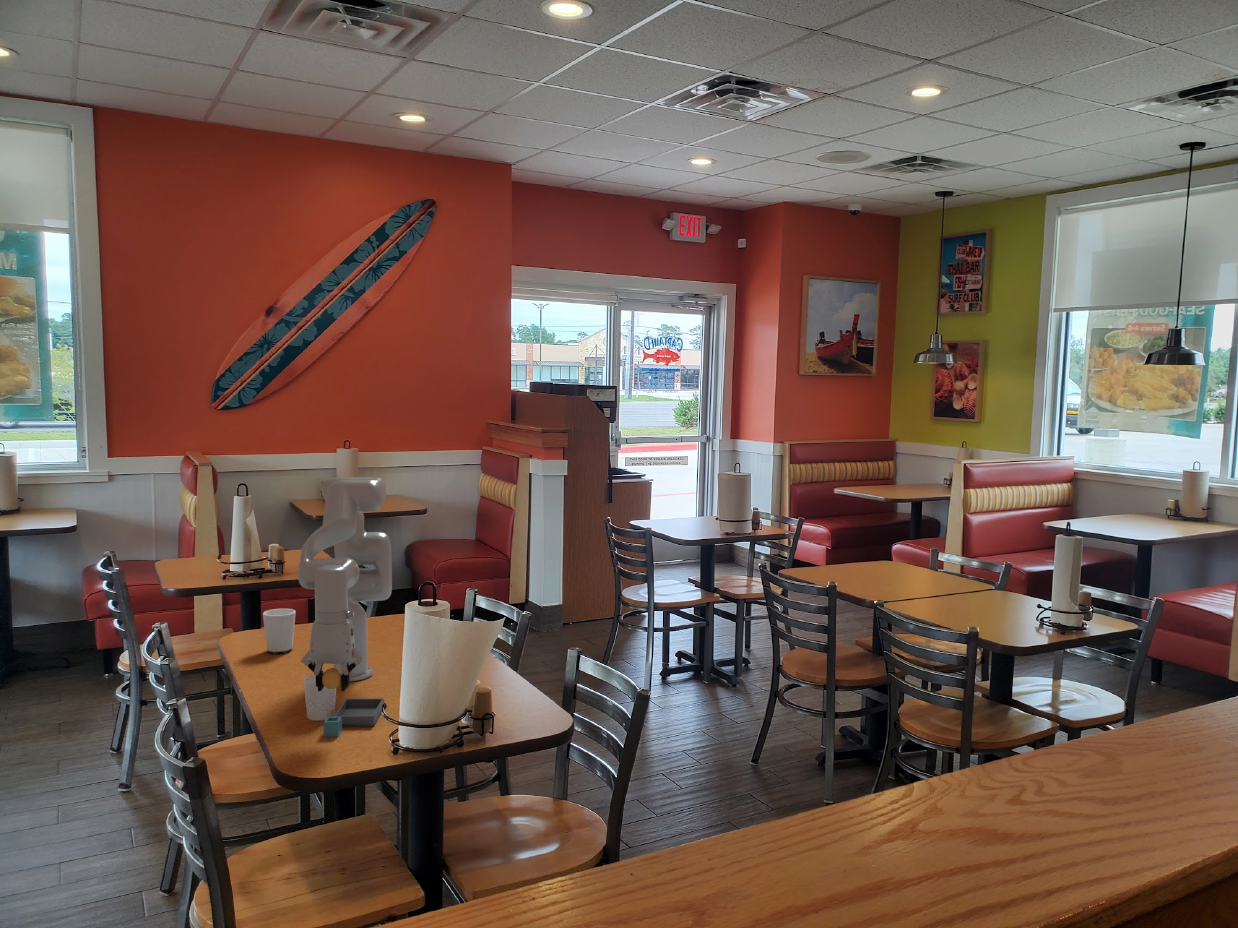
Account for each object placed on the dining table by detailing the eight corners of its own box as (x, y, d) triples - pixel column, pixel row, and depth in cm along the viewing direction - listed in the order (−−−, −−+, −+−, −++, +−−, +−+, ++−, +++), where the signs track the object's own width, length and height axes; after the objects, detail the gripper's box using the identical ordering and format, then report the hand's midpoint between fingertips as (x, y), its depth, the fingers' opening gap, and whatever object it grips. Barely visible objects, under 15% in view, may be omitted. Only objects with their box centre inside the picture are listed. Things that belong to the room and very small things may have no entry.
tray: (345, 708, 232) (345, 698, 232) (384, 707, 233) (384, 698, 233) (333, 726, 219) (333, 716, 219) (374, 726, 220) (374, 716, 220)
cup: (284, 644, 289) (284, 606, 288) (302, 650, 283) (302, 611, 282) (256, 651, 281) (256, 612, 280) (274, 657, 275) (274, 617, 274)
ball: (324, 684, 217) (324, 664, 216) (345, 684, 217) (345, 664, 217) (319, 692, 212) (319, 671, 211) (340, 691, 212) (340, 671, 212)
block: (327, 730, 216) (327, 716, 216) (342, 730, 217) (342, 716, 216) (323, 736, 213) (323, 722, 212) (338, 736, 213) (338, 721, 213)
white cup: (326, 723, 222) (326, 684, 221) (298, 720, 223) (297, 681, 222) (342, 712, 229) (342, 674, 228) (315, 709, 231) (314, 672, 230)
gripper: (370, 612, 217) (371, 683, 219) (300, 612, 216) (301, 683, 218) (364, 620, 209) (364, 694, 211) (291, 620, 208) (292, 695, 210)
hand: (332, 688), depth 214 cm, fingers closed on ball, 4 cm apart
